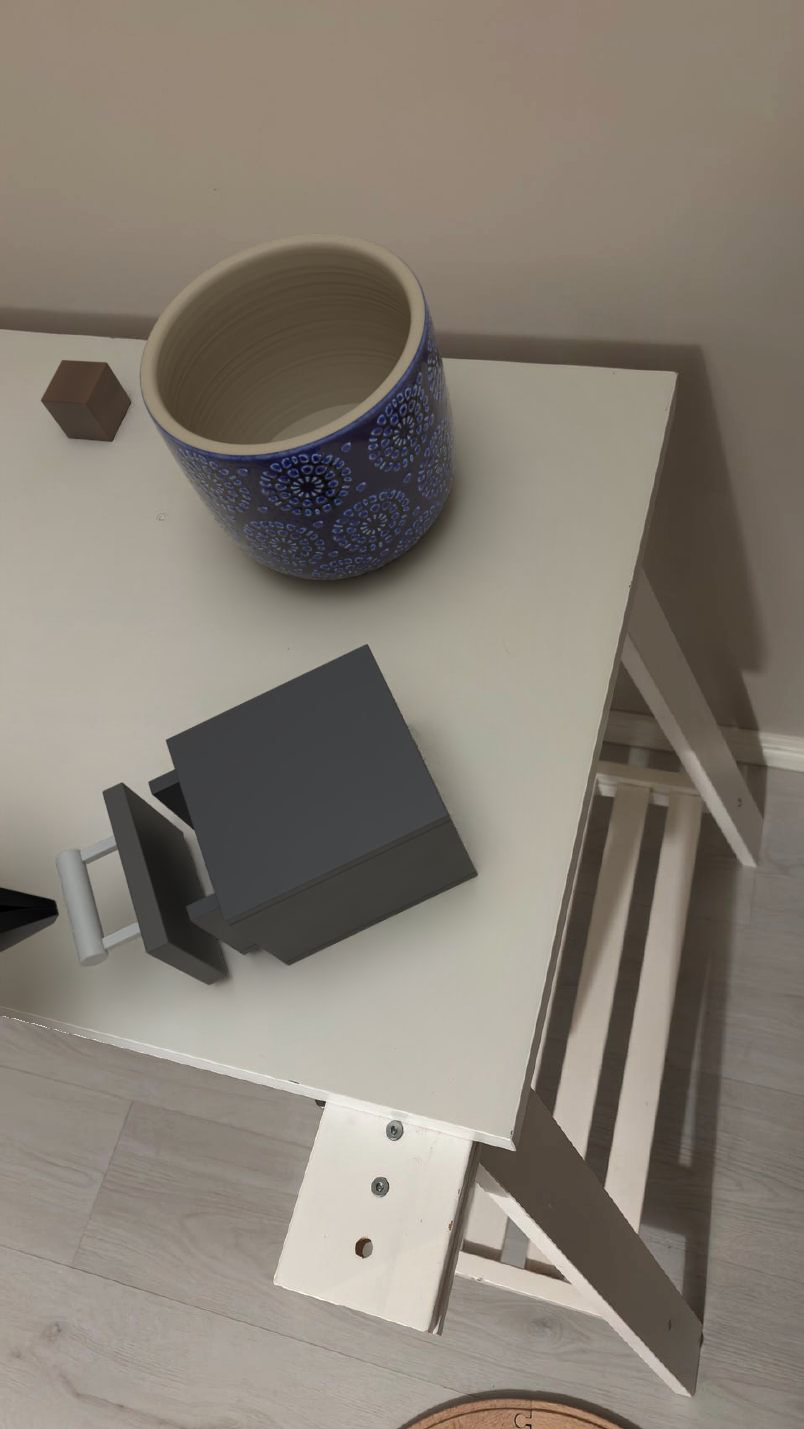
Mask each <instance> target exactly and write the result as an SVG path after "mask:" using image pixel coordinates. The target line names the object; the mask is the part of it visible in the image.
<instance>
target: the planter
mask: <svg viewBox="0 0 804 1429" xmlns="http://www.w3.org/2000/svg"><path fill="white" fill-rule="evenodd" d="M141 355H142V356H141V358H140V359H141V360H140V366H139V387H140V393H141V397H142V401H143V404H144V406H145V409H146V411H147V413H148V415H149V417H150V419H151V420H152V423H153V424H154V427H155V428H156V430H157V432H158V434H159V435H160V437H161V439H162V440H163V442H164V443H165V446H166V448H168V450H169V452H170V454H171V455H172V457H173V458H174V460H175V462H176V464H177V465H178V467H179V468H180V470H181V472H182V473H183V475H184V477H185V478H186V479H187V481H188V482H189V484H190V485H191V487H192V488H193V490H194V491H195V493H196V494H197V496H198V497H199V498H200V500H201V502H202V503H203V505H204V506H205V507H206V509H207V510H208V512H209V513H210V514H211V516H212V517H213V518H214V520H215V521H216V522H217V524H218V525H219V526H220V527H221V528H222V529H223V531H224V532H225V533H226V534H227V535H228V537H229V538H230V539H231V540H232V541H233V543H235V545H236V546H238V547H239V548H240V549H241V550H242V551H243V552H244V553H245V554H247V555H248V556H250V557H251V558H252V559H253V560H255V561H256V562H258V563H259V564H261V565H263V566H264V567H266V568H269V569H270V570H272V571H275V572H278V573H280V574H284V575H287V576H291V577H294V578H300V579H304V580H313V581H315V580H316V581H331V580H342V579H349V578H353V577H359V576H362V575H364V574H368V573H370V572H373V571H376V570H378V569H380V568H382V567H384V566H386V565H388V564H390V563H391V562H393V561H395V560H396V559H398V558H399V557H401V556H402V555H404V554H405V553H406V552H407V551H409V550H410V549H411V548H412V547H414V546H415V544H416V543H418V542H419V541H420V540H421V538H423V537H424V535H425V534H426V533H427V532H428V531H429V530H430V528H431V527H432V526H433V524H434V523H435V522H436V520H437V519H438V517H439V515H440V513H441V511H442V509H443V508H444V505H445V503H446V502H447V499H448V497H449V494H450V492H451V488H452V486H453V481H454V476H455V468H456V459H457V458H456V457H457V447H456V445H457V444H456V436H455V435H456V434H455V423H454V416H453V411H452V410H453V409H452V402H451V398H450V392H449V388H448V382H447V378H446V377H447V376H446V373H445V366H444V363H443V357H442V354H441V349H440V346H439V341H438V338H437V332H436V329H435V325H434V321H433V317H432V314H431V310H430V307H429V305H428V301H427V298H426V295H425V291H424V290H423V286H422V284H421V282H420V281H419V279H418V277H417V275H416V274H415V272H414V271H413V270H412V268H411V267H410V266H409V265H408V263H406V262H405V261H404V260H403V259H402V258H401V257H400V256H398V255H397V254H396V253H394V252H393V251H391V250H390V249H388V248H386V247H384V246H382V245H380V244H378V243H376V242H373V241H371V240H368V239H364V238H362V237H358V236H357V237H356V236H353V235H348V234H340V233H330V232H329V233H328V232H326V233H323V232H319V233H318V232H317V233H315V232H314V233H301V234H295V235H289V236H283V237H279V238H274V239H271V240H267V241H265V242H261V243H259V244H255V245H253V246H249V247H247V248H245V249H242V250H240V251H238V252H236V253H234V254H232V255H230V256H228V257H227V258H224V259H222V260H221V261H219V262H218V263H216V264H215V265H213V266H211V267H209V268H208V269H206V270H205V271H204V272H202V273H201V274H200V275H198V276H197V277H196V278H194V279H193V280H192V281H191V282H190V283H189V284H188V285H186V286H185V287H184V288H182V290H181V291H180V292H179V293H178V294H177V295H176V296H175V297H174V298H173V299H172V300H171V302H169V304H168V305H167V306H166V307H165V309H164V310H163V312H162V313H161V315H160V316H159V317H158V319H157V321H156V322H155V324H154V326H153V327H152V329H151V331H150V333H149V335H148V338H147V340H146V342H145V345H144V349H143V352H142V354H141Z"/></svg>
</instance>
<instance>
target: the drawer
mask: <svg viewBox="0 0 804 1429" xmlns="http://www.w3.org/2000/svg"><path fill="white" fill-rule="evenodd" d="M147 783H148V787H149V790H150V794H151V795H152V796H153V797H154V798H155V799H156V800H158V801H159V802H160V803H161V804H162V805H163V806H165V807H166V808H167V809H168V810H169V811H171V812H172V814H174V815H176V817H177V818H179V820H181V821H182V822H184V824H186V825H187V826H189V828H191V829H192V830H193V831H194V832H195V830H194V827H193V824H192V821H191V818H190V815H189V812H188V809H187V805H186V802H185V799H184V796H183V793H182V790H181V787H180V784H179V781H178V778H177V774H176V771H175V768H174V769H171V770H170V771H168V772H166V773H164V774H161V775H160V776H157V777H155V778H153V779H152V780H149V781H148V782H147ZM101 793H102V796H103V800H104V805H105V809H106V812H107V815H108V820H109V822H110V827H111V829H112V834H113V835H111V836H109V837H107V838H104V839H103V840H100V841H99V842H97V843H95V844H92V845H90V846H88V847H86V848H84V849H78V848H71V849H67V850H64V851H62V852H60V853H58V854H57V855H56V857H55V860H54V861H55V865H56V869H57V873H58V877H59V881H60V886H61V890H62V894H63V899H64V902H65V906H66V911H67V915H68V920H69V923H70V928H71V931H72V932H71V933H72V936H73V940H74V946H75V949H76V953H77V956H78V961H79V962H78V963H79V965H81V966H82V967H95V966H97V965H100V964H102V963H104V962H105V961H106V960H108V959H109V957H110V954H109V952H112V951H113V950H116V949H118V948H119V947H122V946H125V945H126V944H128V943H130V942H133V941H135V940H137V939H139V938H141V939H142V943H143V947H144V949H145V953H146V954H148V955H149V956H151V957H154V958H155V959H157V960H159V961H161V962H163V963H164V964H166V965H169V966H171V967H172V968H174V969H176V970H178V971H180V972H182V973H183V974H185V975H188V976H190V977H192V978H194V979H196V980H198V981H199V982H201V983H203V984H205V985H207V986H211V985H213V984H216V983H218V982H219V981H221V980H224V979H225V978H227V977H228V976H229V974H228V971H227V967H226V965H225V962H224V959H223V955H222V953H221V949H220V946H219V942H218V940H219V941H221V942H222V943H224V944H226V945H227V946H229V947H230V948H232V949H233V950H234V951H236V952H238V953H240V954H241V955H242V956H246V955H248V954H250V953H253V952H255V951H257V950H259V949H261V948H262V947H260V946H259V945H257V944H256V943H254V942H253V941H251V940H250V939H249V938H247V937H246V936H244V935H243V934H241V933H240V932H238V931H237V930H236V929H234V928H233V927H231V926H230V925H228V924H227V923H225V922H224V920H223V917H222V914H221V911H220V908H219V905H218V902H217V899H216V895H215V892H213V893H210V894H209V895H207V896H205V897H204V895H203V892H202V889H201V885H200V882H199V879H198V876H197V872H196V870H195V866H194V863H193V860H192V857H191V854H190V851H189V847H188V844H187V841H186V838H185V835H184V834H185V833H184V832H183V830H182V829H180V828H179V827H178V826H177V825H175V824H174V823H173V822H172V821H170V820H169V819H168V818H166V816H164V815H163V814H162V813H161V812H159V811H158V810H157V809H156V808H154V807H153V806H152V805H151V804H150V803H149V802H147V801H146V800H145V799H144V798H143V797H141V796H140V795H139V794H137V793H136V792H135V791H134V790H132V788H130V787H129V786H128V785H126V784H125V783H124V782H123V781H122V782H119V783H117V784H114V785H112V786H111V787H108V788H106V789H104V790H103V791H102V792H101ZM116 851H117V852H118V855H119V860H120V863H121V866H122V870H123V873H124V878H125V882H126V884H127V888H128V891H129V896H130V898H131V903H132V906H133V910H134V914H135V917H136V922H135V921H134V923H131V924H129V925H127V926H125V927H123V928H121V929H118V930H117V931H114V932H112V933H111V934H108V935H106V936H105V934H104V930H103V926H102V921H101V917H100V915H99V910H98V906H97V902H96V899H95V895H94V890H93V887H92V882H91V879H90V874H89V871H88V866H87V865H88V864H91V863H93V862H95V861H98V860H99V859H101V858H104V857H106V856H107V855H110V854H112V853H114V852H116Z"/></svg>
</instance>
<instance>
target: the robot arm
mask: <svg viewBox="0 0 804 1429" xmlns="http://www.w3.org/2000/svg"><path fill="white" fill-rule="evenodd" d="M57 903H58V902H57V901H56V900H55V899H53V898H48V897H44V896H40V895H36V894H33V893H32V894H31V893H27V892H23V891H19V890H14V889H11V888H7V887H2V886H0V954H1V953H2V952H4V951H7V950H8V949H11V948H12V947H14V946H15V945H18V944H19V943H21V942H23V941H25V940H27V939H28V938H30V937H32V936H33V935H35V934H37V933H39V932H41V931H43V930H44V929H46V928H49V927H50V926H52V925H53V924H55V923H56V921H57V919H58V918H59V915H60V912H59V908H58V904H57Z"/></svg>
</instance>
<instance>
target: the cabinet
mask: <svg viewBox="0 0 804 1429" xmlns="http://www.w3.org/2000/svg"><path fill="white" fill-rule="evenodd" d="M409 728H410V727H409V726H408V724H407V722H406V720H405V718H404V716H403V714H402V712H401V709H400V708H399V705H398V703H397V701H396V699H395V697H394V695H393V693H392V691H391V689H390V686H389V684H388V682H387V681H386V678H385V676H384V674H383V672H382V670H381V668H380V666H379V664H378V662H377V660H376V658H375V656H374V654H373V651H372V649H371V648H370V646H369V644H368V643H365V644H363V645H361V646H360V647H357V648H354V649H353V650H351V651H349V652H347V653H345V654H342V655H340V656H338V657H337V658H334V659H332V660H331V661H328V662H326V663H324V664H322V665H319V666H317V667H315V668H313V669H311V670H309V671H306V672H305V673H303V674H301V675H298V676H296V677H294V678H292V679H289V680H288V681H285V682H284V683H281V684H280V685H277V686H275V687H274V688H272V689H269V690H267V691H265V692H263V693H261V694H259V695H256V696H254V697H253V698H250V699H248V700H246V701H244V702H242V703H240V704H238V705H236V706H233V707H232V708H229V709H227V710H224V711H223V712H221V713H219V714H217V715H215V716H212V717H210V718H209V719H207V720H205V721H202V722H200V723H197V724H196V725H194V726H192V727H189V728H188V729H185V730H183V731H181V732H179V733H177V734H175V735H172V736H171V737H169V738H166V739H165V743H166V746H167V750H168V753H169V755H170V758H171V759H170V760H171V762H172V764H173V768H174V769H175V771H176V774H177V778H178V781H179V784H180V787H181V790H182V793H183V796H184V799H185V802H186V805H187V809H188V812H189V815H190V818H191V821H192V824H193V827H194V830H195V831H194V830H193V831H194V833H195V836H196V839H197V843H198V845H199V849H200V852H201V855H202V858H203V861H204V865H205V867H206V870H207V873H208V876H209V880H210V883H211V886H212V889H213V893H215V895H216V899H217V902H218V905H219V908H220V911H221V914H222V917H223V920H224V922H225V923H227V924H228V925H230V926H231V927H233V928H234V929H236V930H237V931H238V932H240V933H241V934H243V935H244V936H246V937H247V938H249V939H250V940H251V941H253V942H254V943H256V944H257V945H259V946H260V947H261V948H262V949H263V950H264V951H266V952H267V953H269V954H270V955H272V956H273V957H275V958H276V959H277V960H279V961H280V962H282V963H283V964H285V965H286V966H290V965H293V964H295V963H297V962H299V961H301V960H303V959H305V958H307V957H309V956H312V955H314V954H316V953H318V952H321V951H323V950H324V949H326V948H328V947H331V946H333V945H335V944H337V943H339V942H341V941H343V940H345V939H347V938H349V937H352V936H353V935H356V934H358V933H360V932H362V931H364V930H367V929H369V928H370V927H373V926H375V925H377V924H379V923H381V922H383V921H385V920H387V919H389V918H391V917H394V916H396V915H398V914H400V913H402V912H405V911H406V910H408V909H411V908H413V907H415V906H417V905H419V904H421V903H423V902H425V901H427V900H430V899H432V898H433V897H436V896H437V895H440V894H442V893H444V892H446V891H449V890H450V889H452V888H455V887H456V886H459V885H461V884H463V883H465V882H467V881H469V880H471V879H474V878H476V877H477V876H479V874H478V872H477V869H476V868H475V866H474V863H473V860H472V859H471V856H470V854H469V852H468V851H467V848H466V846H465V844H464V842H463V839H462V838H461V836H460V833H459V832H458V829H457V827H456V825H455V823H454V821H453V819H452V817H451V815H450V812H449V811H448V808H447V806H446V804H445V801H444V800H443V798H442V795H441V794H440V791H439V789H438V787H437V785H436V783H435V780H434V778H433V777H432V774H431V772H430V771H429V768H428V766H427V764H426V762H425V760H424V758H423V756H422V754H421V751H420V749H419V748H418V745H417V743H416V741H415V739H414V737H413V734H412V732H411V730H410V729H409Z"/></svg>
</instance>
